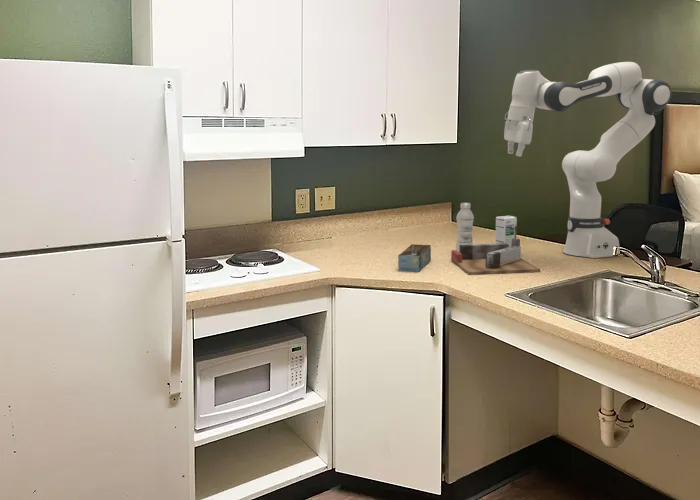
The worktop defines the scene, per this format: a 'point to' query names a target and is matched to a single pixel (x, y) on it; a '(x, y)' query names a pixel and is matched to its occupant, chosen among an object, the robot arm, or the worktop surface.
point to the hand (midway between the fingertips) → (514, 155)
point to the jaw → (502, 256)
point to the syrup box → (506, 229)
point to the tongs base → (475, 259)
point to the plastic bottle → (464, 225)
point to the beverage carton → (414, 258)
